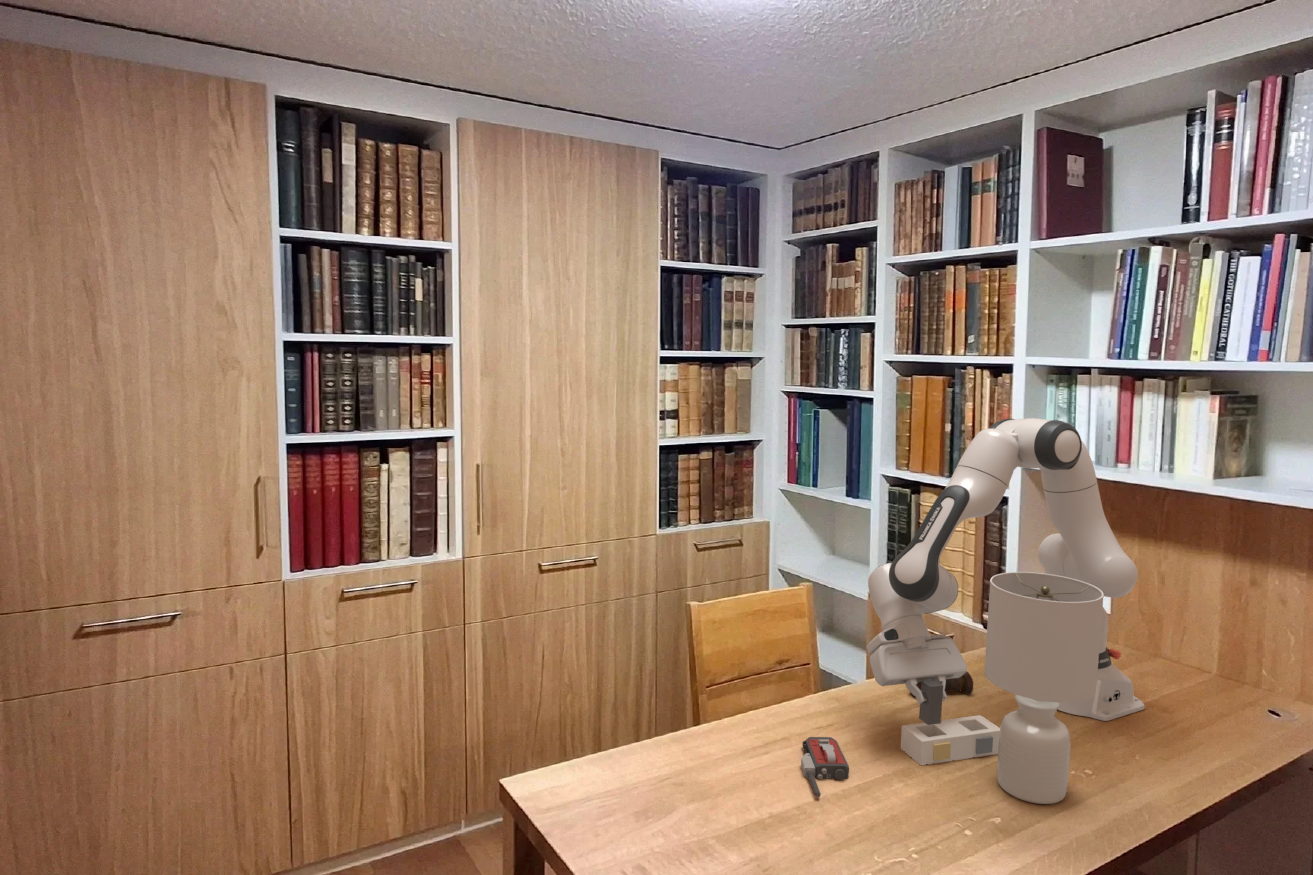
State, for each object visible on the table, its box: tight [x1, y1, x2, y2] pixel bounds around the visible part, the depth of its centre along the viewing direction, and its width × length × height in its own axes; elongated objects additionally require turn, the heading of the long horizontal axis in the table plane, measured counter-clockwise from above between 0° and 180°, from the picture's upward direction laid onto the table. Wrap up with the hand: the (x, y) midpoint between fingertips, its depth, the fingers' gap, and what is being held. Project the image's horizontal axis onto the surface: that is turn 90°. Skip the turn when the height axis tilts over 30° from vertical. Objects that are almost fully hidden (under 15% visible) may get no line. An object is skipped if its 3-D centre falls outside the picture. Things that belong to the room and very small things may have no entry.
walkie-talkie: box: [800, 736, 850, 798], centre depth 157 cm, size 9×4×20 cm
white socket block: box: [900, 714, 1000, 766], centre depth 166 cm, size 19×8×5 cm, turn 106°
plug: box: [918, 679, 943, 725], centre depth 164 cm, size 3×3×8 cm
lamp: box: [983, 571, 1105, 805], centre depth 151 cm, size 19×19×39 cm
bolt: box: [908, 670, 974, 696], centre depth 194 cm, size 6×5×15 cm
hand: (933, 701), depth 163 cm, fingers closed on plug, 3 cm apart
